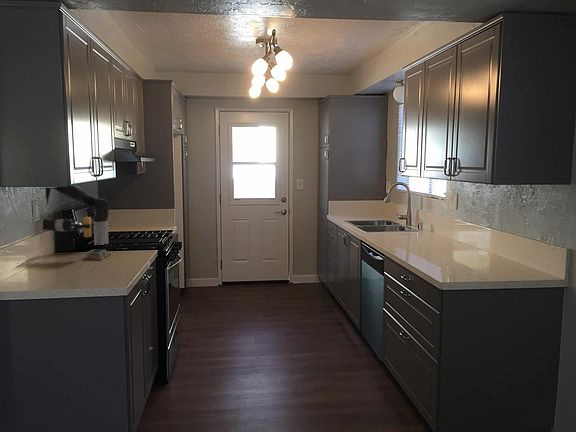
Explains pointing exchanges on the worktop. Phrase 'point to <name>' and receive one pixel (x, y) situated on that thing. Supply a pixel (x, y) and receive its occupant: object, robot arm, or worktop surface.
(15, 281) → the worktop surface
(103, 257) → the junction block
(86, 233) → the connector
